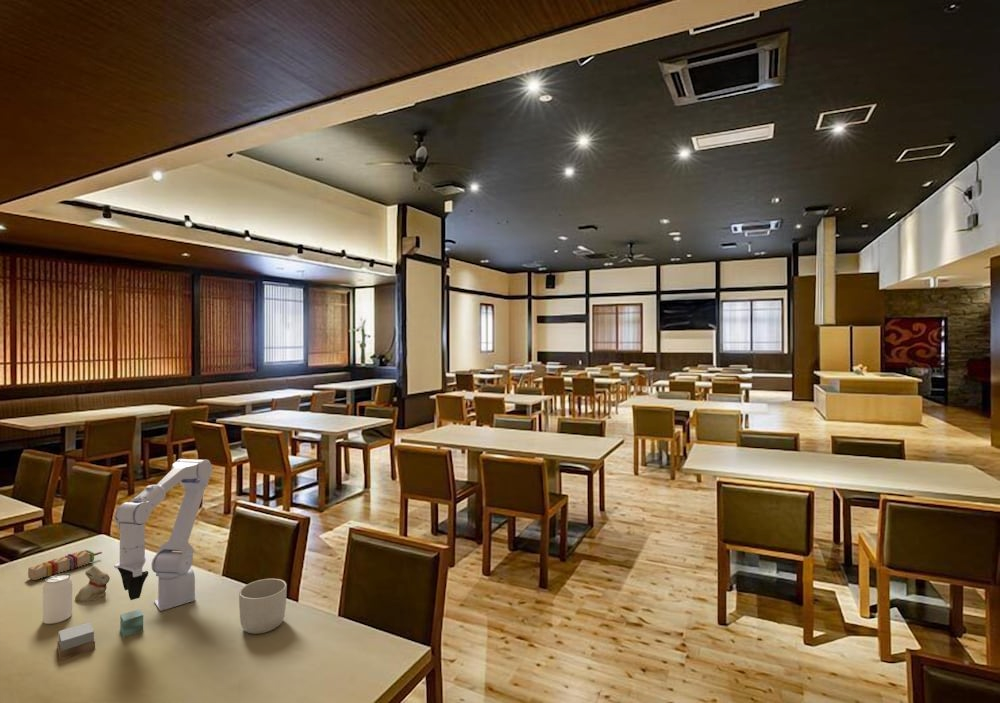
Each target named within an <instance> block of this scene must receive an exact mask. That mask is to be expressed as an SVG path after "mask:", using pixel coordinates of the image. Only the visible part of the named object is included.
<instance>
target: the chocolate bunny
mask: <svg viewBox="0 0 1000 703" xmlns="http://www.w3.org/2000/svg"><path fill="white" fill-rule="evenodd" d="M84 573H85V576H87V578H88V579H89V581H88V583H87V584H85V585H84V586H82V587H81V588H80V589H79V590H78V592H77V594H76V595H75V598H74V600H75V601H78V602H88V601H89V600H90V601H94V599H95V600H98V599H102V598H104V597H106V595H107V592H106V591H107V584H108V583H109V581H110V580H111V579H110V575H109V574H108V573H107V572H103V571H101V570H100V568H98V567H97V566H95V565H92V566H91V567H90V568H89V569H87V570H86V571H85V572H84ZM103 596H104V597H103ZM90 601H89V602H90Z"/></svg>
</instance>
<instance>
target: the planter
mask: <svg viewBox="0 0 1000 703" xmlns="http://www.w3.org/2000/svg"><path fill="white" fill-rule="evenodd" d="M287 585H288V584H287V582H286V581H285V580H283V579H281V578H264V579H258V580H255V581H252V582H249V583H247V584H246V585H244V586H243V587H241V588H240V590H239V591H238V596H239V599H238V600H239V601H238V602H239V603H238V606H239V621H240V626H241V628H242V630H243V631H245V632H246V633H247V634H248V633H249V634H253V635H256V634H257V635H258V634H259V635H260V634H264V633H268V632H271V631H273V630H275V629H276V628H277V627H279V626H280V625H281V624H282V623H283V621H284V619H285V614H286V609H287V590H288V589H287V588H288V587H287Z"/></svg>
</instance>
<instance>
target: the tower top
mask: <svg viewBox="0 0 1000 703" xmlns="http://www.w3.org/2000/svg"><path fill="white" fill-rule="evenodd" d="M94 639H95V630H94V628H93V625H92V622H91V621H88V622H85V623H81V624H79V625H75V626H72V627H68V628H64V629H62V630H59V631H58V641H59V644H60V648H61V651H63V650H66V649H70V648H73V647H76V646H79V645H82V644H85V643H88V642H92V641H94Z"/></svg>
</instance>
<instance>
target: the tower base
mask: <svg viewBox="0 0 1000 703" xmlns="http://www.w3.org/2000/svg"><path fill="white" fill-rule="evenodd" d="M56 642H57V643H56V644H57V646H56V649H57V653H58V658H59V660H61V661H62V660H63V659H66V658H69V657H73V656H76V655H79V654H81V653H82V654H83V653H85V652H88V651H91V650H95V649H96V640H95V638H94V641H92V642H88V643H85V644H82V645H79V646H76V647H73V648H70V649H66V650H63V651H61V648H60V644H59V640H56Z"/></svg>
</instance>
